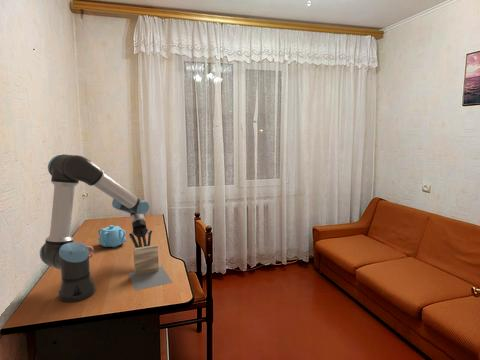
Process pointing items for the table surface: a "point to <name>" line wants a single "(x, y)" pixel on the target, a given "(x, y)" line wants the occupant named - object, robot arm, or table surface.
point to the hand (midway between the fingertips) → (145, 259)
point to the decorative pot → (111, 236)
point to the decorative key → (91, 251)
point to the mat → (149, 279)
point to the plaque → (146, 259)
